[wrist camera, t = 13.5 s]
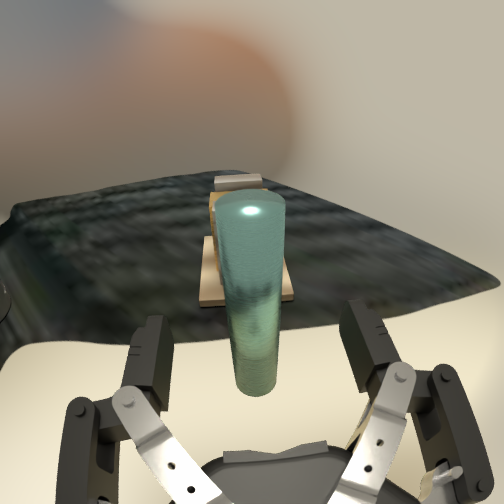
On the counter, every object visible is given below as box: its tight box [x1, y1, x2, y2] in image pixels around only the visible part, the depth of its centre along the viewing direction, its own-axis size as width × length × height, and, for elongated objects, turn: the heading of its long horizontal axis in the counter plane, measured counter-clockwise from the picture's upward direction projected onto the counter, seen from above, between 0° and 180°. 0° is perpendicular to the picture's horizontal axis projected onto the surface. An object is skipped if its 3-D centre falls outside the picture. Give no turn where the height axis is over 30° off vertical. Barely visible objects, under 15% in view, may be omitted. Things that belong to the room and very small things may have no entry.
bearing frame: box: [199, 174, 294, 307], centre depth 37 cm, size 14×11×11 cm
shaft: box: [215, 189, 285, 397], centre depth 24 cm, size 18×3×15 cm, turn 5°
